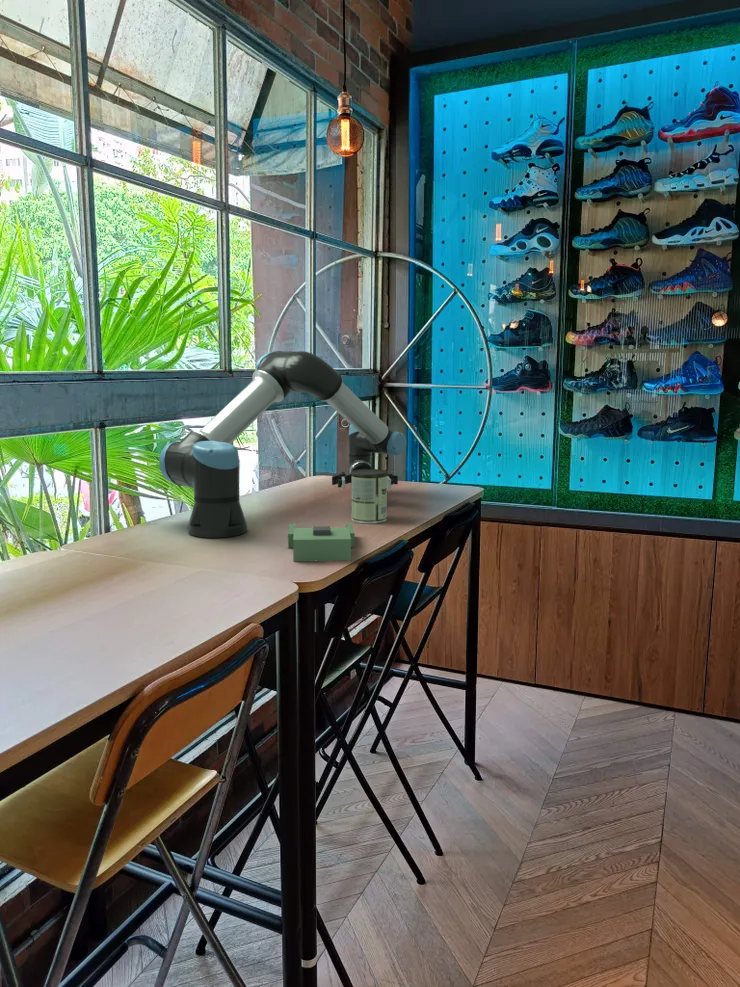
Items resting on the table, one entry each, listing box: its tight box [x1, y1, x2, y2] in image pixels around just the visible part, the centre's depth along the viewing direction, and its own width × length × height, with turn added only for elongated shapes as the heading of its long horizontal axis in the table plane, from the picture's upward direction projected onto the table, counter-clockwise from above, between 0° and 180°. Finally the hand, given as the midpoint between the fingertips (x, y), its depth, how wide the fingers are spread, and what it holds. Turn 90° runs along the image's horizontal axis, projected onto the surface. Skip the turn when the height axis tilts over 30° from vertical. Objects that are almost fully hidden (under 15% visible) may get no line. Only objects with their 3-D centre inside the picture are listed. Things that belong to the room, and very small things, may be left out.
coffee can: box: [351, 468, 389, 525], centre depth 210 cm, size 10×10×14 cm
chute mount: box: [287, 522, 356, 562], centre depth 178 cm, size 16×24×6 cm, turn 5°
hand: (366, 484), depth 219 cm, fingers open, 13 cm apart
